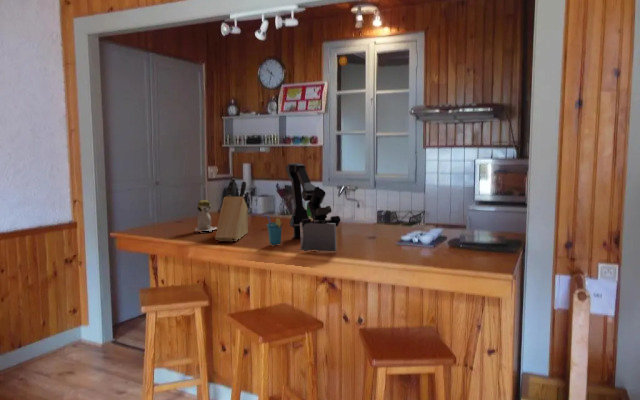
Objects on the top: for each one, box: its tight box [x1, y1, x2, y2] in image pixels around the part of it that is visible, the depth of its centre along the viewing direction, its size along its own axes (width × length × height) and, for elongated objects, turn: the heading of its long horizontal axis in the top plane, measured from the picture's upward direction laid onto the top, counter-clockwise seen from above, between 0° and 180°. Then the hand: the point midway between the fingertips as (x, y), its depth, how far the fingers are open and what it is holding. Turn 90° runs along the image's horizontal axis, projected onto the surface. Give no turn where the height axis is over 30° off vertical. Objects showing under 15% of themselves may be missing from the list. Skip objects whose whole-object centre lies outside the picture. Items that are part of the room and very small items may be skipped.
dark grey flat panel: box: [300, 223, 337, 252], centre depth 220 cm, size 2×17×12 cm, turn 70°
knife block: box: [214, 178, 251, 242], centre depth 262 cm, size 11×35×31 cm, turn 174°
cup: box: [261, 214, 283, 245], centre depth 239 cm, size 14×8×15 cm, turn 52°
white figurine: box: [194, 199, 217, 232], centre depth 280 cm, size 12×13×18 cm
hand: (325, 238), depth 220 cm, fingers closed
